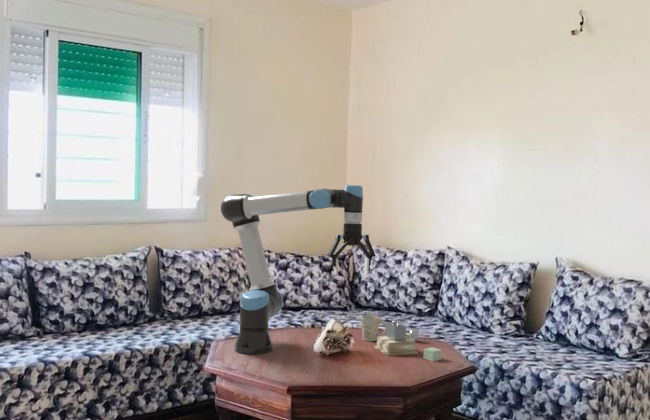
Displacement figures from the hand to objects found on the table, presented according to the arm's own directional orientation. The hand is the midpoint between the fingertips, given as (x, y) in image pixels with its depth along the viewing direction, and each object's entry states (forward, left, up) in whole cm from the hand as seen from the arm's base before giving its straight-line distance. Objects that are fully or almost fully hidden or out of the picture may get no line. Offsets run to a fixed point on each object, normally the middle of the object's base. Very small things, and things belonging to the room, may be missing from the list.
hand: (351, 274), depth 272 cm
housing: (+5, +19, -27) cm, 33 cm away
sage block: (+20, +28, -32) cm, 47 cm away
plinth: (+5, +19, -32) cm, 37 cm away
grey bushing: (-8, +34, -32) cm, 47 cm away
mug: (-15, +18, -32) cm, 40 cm away
